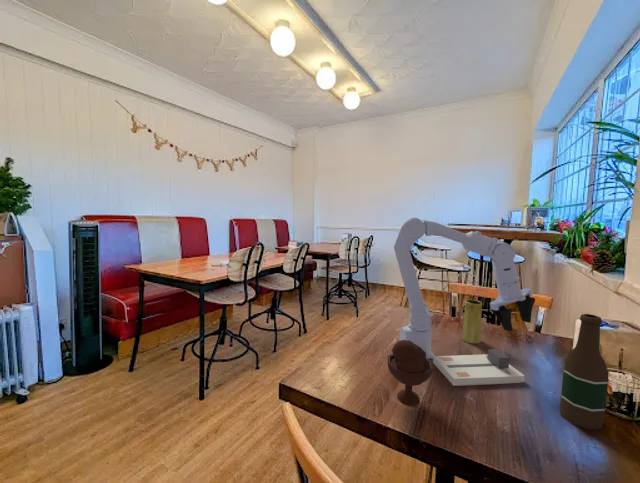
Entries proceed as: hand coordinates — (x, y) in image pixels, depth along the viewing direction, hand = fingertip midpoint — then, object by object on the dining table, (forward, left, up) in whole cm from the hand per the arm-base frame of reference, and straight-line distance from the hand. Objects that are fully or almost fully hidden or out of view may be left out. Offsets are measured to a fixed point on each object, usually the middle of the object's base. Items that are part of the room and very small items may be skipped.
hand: (517, 325), depth 87 cm
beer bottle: (-1, -22, -13) cm, 26 cm away
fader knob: (-7, -2, -10) cm, 13 cm away
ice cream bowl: (-37, -12, -13) cm, 41 cm away
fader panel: (-13, -2, -13) cm, 19 cm away
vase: (-2, +18, -13) cm, 22 cm away
